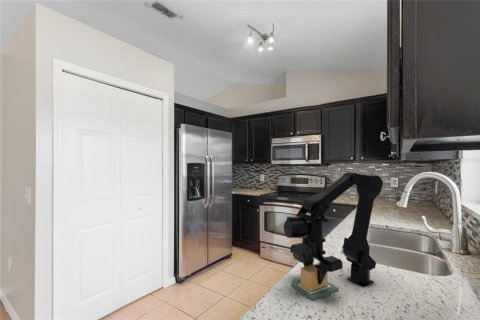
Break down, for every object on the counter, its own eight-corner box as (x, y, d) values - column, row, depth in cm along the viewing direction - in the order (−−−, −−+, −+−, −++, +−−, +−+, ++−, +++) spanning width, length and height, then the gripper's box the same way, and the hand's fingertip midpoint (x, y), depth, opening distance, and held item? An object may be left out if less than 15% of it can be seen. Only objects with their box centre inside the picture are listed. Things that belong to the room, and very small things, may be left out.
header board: (315, 278, 86) (315, 267, 87) (338, 291, 78) (338, 279, 78) (291, 286, 81) (291, 274, 81) (312, 301, 72) (312, 288, 72)
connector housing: (317, 280, 83) (317, 263, 83) (327, 285, 79) (327, 267, 79) (300, 285, 79) (300, 267, 79) (310, 291, 75) (310, 273, 76)
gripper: (278, 231, 84) (278, 274, 84) (317, 247, 68) (318, 301, 67) (301, 227, 89) (302, 268, 89) (343, 241, 73) (343, 291, 72)
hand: (314, 280), depth 79 cm, fingers closed on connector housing, 4 cm apart
